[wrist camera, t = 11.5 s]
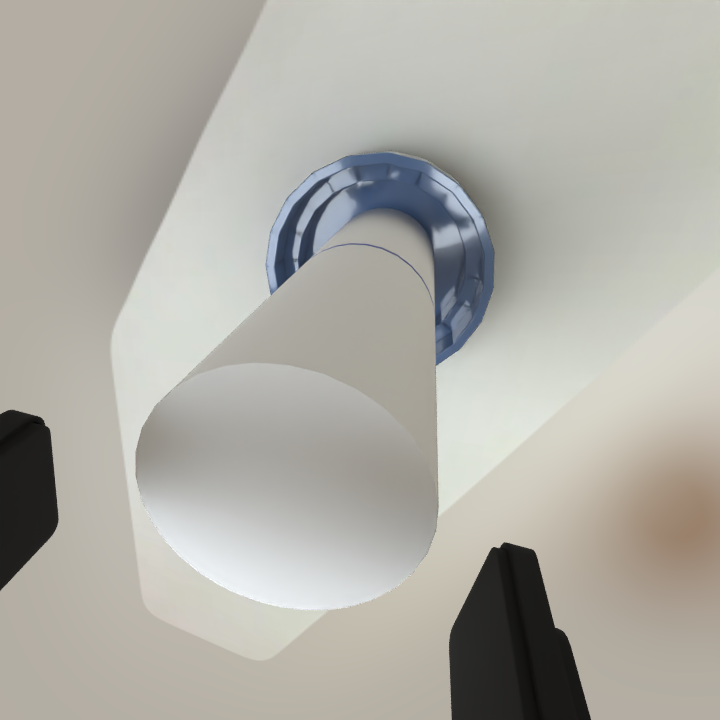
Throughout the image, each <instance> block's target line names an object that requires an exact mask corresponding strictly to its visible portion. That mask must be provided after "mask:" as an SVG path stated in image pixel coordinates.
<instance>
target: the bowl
mask: <svg viewBox="0 0 720 720" xmlns="http://www.w3.org/2000/svg"><path fill="white" fill-rule="evenodd" d="M376 208H391V209H395V210H399V211H402V212H404V213H406V214H408V215H410V216H411V217H412V218H414V219H415V220H416V221H418V222H419V223H420V225H421V226H422V227H423V228H424V229H425V231H426V233H427V234H428V236H429V238H430V241H431V244H432V247H433V254H434V291H435V350H436V365H438V364H439V363H441V362H442V361H444V360H445V359H447V358H448V357H449V356H451V355H452V354H454V353H455V352H457V351H458V350H459V349H461V347H462V346H463V345H464V344H465V342H466V341H467V340H468V339H469V337H470V336H471V335H472V333H473V332H474V331H475V330H476V328H477V327H478V326H479V325H480V323H481V322H482V319H483V316H484V314H485V311H486V308H487V305H488V303H489V300H490V297H491V294H492V292H493V288H494V249H493V246H492V242H491V239H490V236H489V233H488V230H487V227H486V223H485V220H484V217H483V215H482V213H481V212H480V211H479V209H478V208H477V206H476V205H475V204H474V202H473V201H472V200H471V198H470V197H469V196H468V194H467V193H466V192H465V190H464V189H463V188H462V186H461V185H460V184H459V182H458V181H457V180H456V179H455V178H454V177H453V176H451V175H450V174H448V173H447V172H445V171H444V170H442V169H441V168H439V167H438V166H436V165H435V164H433V163H432V162H430V161H429V160H427V159H424V158H420V157H416V156H412V155H408V154H404V153H400V152H396V151H385V152H375V153H364V154H356V155H350V156H346V157H344V158H342V159H340V160H338V161H336V162H334V163H331V164H329V165H327V166H325V167H323V168H321V169H319V170H317V171H314V173H312V174H311V175H310V176H309V177H308V178H307V179H306V180H305V181H304V182H303V183H302V184H301V185H300V186H299V187H298V188H297V189H296V190H295V191H294V192H293V193H292V194H291V195H290V196H289V197H288V198H287V199H286V201H285V203H284V205H283V207H282V209H281V211H280V213H279V215H278V217H277V219H276V221H275V223H274V225H273V227H272V229H271V232H270V238H269V245H268V252H267V260H266V270H267V276H268V282H269V287H270V293H271V295H272V294H273V293H274V292H275V291H276V290H277V289H278V288H279V287H280V286H281V285H282V284H284V283H285V282H286V281H287V280H288V279H289V278H290V277H291V276H292V275H293V274H294V273H295V272H296V271H297V270H298V269H300V268H301V267H302V266H303V265H304V264H305V263H306V262H307V261H308V260H309V259H310V258H311V257H312V256H313V255H314V254H315V253H316V252H317V251H318V250H319V249H320V248H322V247H323V246H324V245H325V244H326V243H327V242H328V241H329V240H330V239H331V238H332V237H333V236H334V235H335V234H336V233H337V232H338V231H339V230H340V229H342V228H343V227H344V226H345V225H346V224H347V223H348V222H349V221H350V220H351V219H352V218H354V217H355V216H357V215H358V214H360V213H362V212H365V211H367V210H370V209H376Z"/></svg>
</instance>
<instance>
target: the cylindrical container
mask: <svg viewBox="0 0 720 720" xmlns="http://www.w3.org/2000/svg"><path fill="white" fill-rule="evenodd" d="M136 479H137V483H138V488H139V492H140V496H141V500H142V502H143V504H144V506H145V509H146V511H147V513H148V515H149V517H150V520H151V521H152V523H153V524H154V526H155V527H156V529H157V530H158V531H159V533H160V534H161V536H162V537H163V539H164V540H165V541H166V542H167V543H168V544H169V545H170V547H171V548H172V549H173V550H174V551H175V552H176V553H177V554H178V555H179V556H180V557H181V558H182V559H183V560H184V561H186V562H187V563H188V564H189V565H191V566H192V567H193V568H194V569H195V570H197V571H198V572H199V573H200V574H202V575H203V576H205V577H207V578H208V579H210V580H212V581H213V582H215V583H217V584H218V585H220V586H222V587H224V588H225V589H227V590H230V591H232V592H235V593H237V594H239V595H242V596H244V597H246V598H249V599H251V600H255V601H259V602H262V603H266V604H270V605H273V606H277V607H284V608H291V609H299V610H330V609H338V608H345V607H351V606H354V605H357V604H361V603H364V602H367V601H370V600H373V599H375V598H377V597H379V596H381V595H383V594H385V593H387V592H389V591H391V590H393V589H394V588H396V587H397V586H398V585H399V584H401V583H402V582H403V581H404V580H405V579H406V578H408V577H409V576H410V575H411V574H412V573H413V572H414V571H415V570H416V568H417V567H418V566H419V564H420V563H421V561H422V560H423V559H424V557H425V556H426V555H427V553H428V551H429V548H430V545H431V543H432V540H433V538H434V535H435V532H436V527H437V517H438V507H439V506H438V454H437V402H436V350H435V291H434V254H433V247H432V244H431V241H430V238H429V236H428V234H427V233H426V231H425V229H424V228H423V227H422V226H421V225H420V223H419V222H418V221H416V220H415V219H414V218H412V217H411V216H410V215H408V214H406V213H404V212H402V211H399V210H395V209H391V208H376V209H370V210H367V211H365V212H362V213H360V214H358V215H357V216H355V217H354V218H352V219H351V220H350V221H349V222H348V223H347V224H346V225H345V226H344V227H343V228H342V229H340V230H339V231H338V232H337V233H336V234H335V235H334V236H333V237H332V238H331V239H330V240H329V241H328V242H327V243H326V244H325V245H324V246H323V247H322V248H320V249H319V250H318V251H317V252H316V253H315V254H314V255H313V256H312V257H311V258H310V259H309V260H308V261H307V262H306V263H305V264H304V265H303V266H302V267H301V268H300V269H298V270H297V271H296V272H295V273H294V274H293V275H292V276H291V277H290V278H289V279H288V280H287V281H286V282H285V283H284V284H282V285H281V286H280V287H279V288H278V289H277V290H276V291H275V292H274V293H273V294H272V295H271V296H270V297H269V298H268V299H266V300H265V301H264V302H263V303H262V304H261V305H260V306H259V307H258V308H257V309H256V310H255V311H254V312H253V313H252V314H251V315H250V316H249V317H248V318H246V319H245V320H244V321H243V322H242V323H241V324H240V325H239V326H238V327H237V328H236V329H235V330H234V331H233V332H232V333H231V334H230V335H229V336H228V337H227V338H226V339H225V340H224V341H222V342H221V343H220V344H219V345H218V346H217V347H216V348H215V349H214V350H213V351H212V352H211V353H210V354H209V355H208V356H207V357H206V358H205V359H204V360H203V361H202V362H201V363H199V364H198V365H197V366H196V367H195V368H194V369H193V370H192V371H191V372H190V373H189V374H188V375H187V376H186V377H185V378H184V379H183V380H182V381H181V382H180V383H179V384H178V385H176V386H175V387H174V388H173V389H172V390H171V391H170V392H169V393H168V394H167V395H166V396H165V397H164V398H163V399H162V400H161V401H160V402H159V403H158V404H157V405H156V406H155V407H154V409H153V410H152V412H151V414H150V415H149V417H148V419H147V420H146V422H145V424H144V425H143V427H142V430H141V434H140V437H139V441H138V445H137V449H136Z"/></svg>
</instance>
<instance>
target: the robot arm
mask: <svg viewBox="0 0 720 720" xmlns="http://www.w3.org/2000/svg"><path fill="white" fill-rule="evenodd" d="M57 524H58V508H57V497H56V487H55V476H54V465H53V455H52V445H51V434H50V429H49V428H48V427H46V426H45V423H44V420H43V419H42V418H41V417H38V416H34V415H30V414H27V413H23V412H19V411H15V410H8V411H6V412H4V413H2V414H0V590H1V589H2V588H3V587H4V586H5V585H6V584H7V583H8V582H9V581H10V580H11V579H12V578H13V577H14V575H15V574H16V573H17V572H18V571H19V570H20V569H21V568H22V567H23V566H24V565H25V564H26V563H27V562H28V561H29V560H30V558H31V557H32V556H33V555H34V554H35V553H36V552H37V551H38V550H39V549H40V548H41V547H42V546H43V545H44V543H46V542H47V541H48V539H49V538H50V537H51V536H52V535H53V533H54V532H55V530H56V527H57ZM449 656H450V679H451V680H450V683H451V709H452V720H591V718H590V714H589V711H588V707H587V704H586V700H585V696H584V693H583V689H582V686H581V682H580V678H579V674H578V671H577V667H576V664H575V660H574V656H573V653H572V649H571V646H570V643H569V640H568V638H567V636H566V635H565V633H564V632H563V631H562V630H560V629H558V628H555V626H554V622H553V618H552V614H551V610H550V606H549V602H548V599H547V595H546V591H545V587H544V583H543V579H542V575H541V571H540V567H539V563H538V559H537V556H536V553H535V552H534V550H532V549H528V548H524V547H521V546H517V545H513V544H510V543H503V544H502V545H501V547H500V548H496V547H493V548H492V549H491V551H490V552H489V554H488V556H487V559H486V560H485V562H484V564H483V566H482V569H481V570H480V572H479V574H478V577H477V579H476V581H475V583H474V585H473V587H472V589H471V591H470V593H469V595H468V597H467V599H466V601H465V603H464V605H463V607H462V609H461V611H460V613H459V615H458V617H457V619H456V621H455V623H454V625H453V627H452V630H451V634H450V642H449Z"/></svg>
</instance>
